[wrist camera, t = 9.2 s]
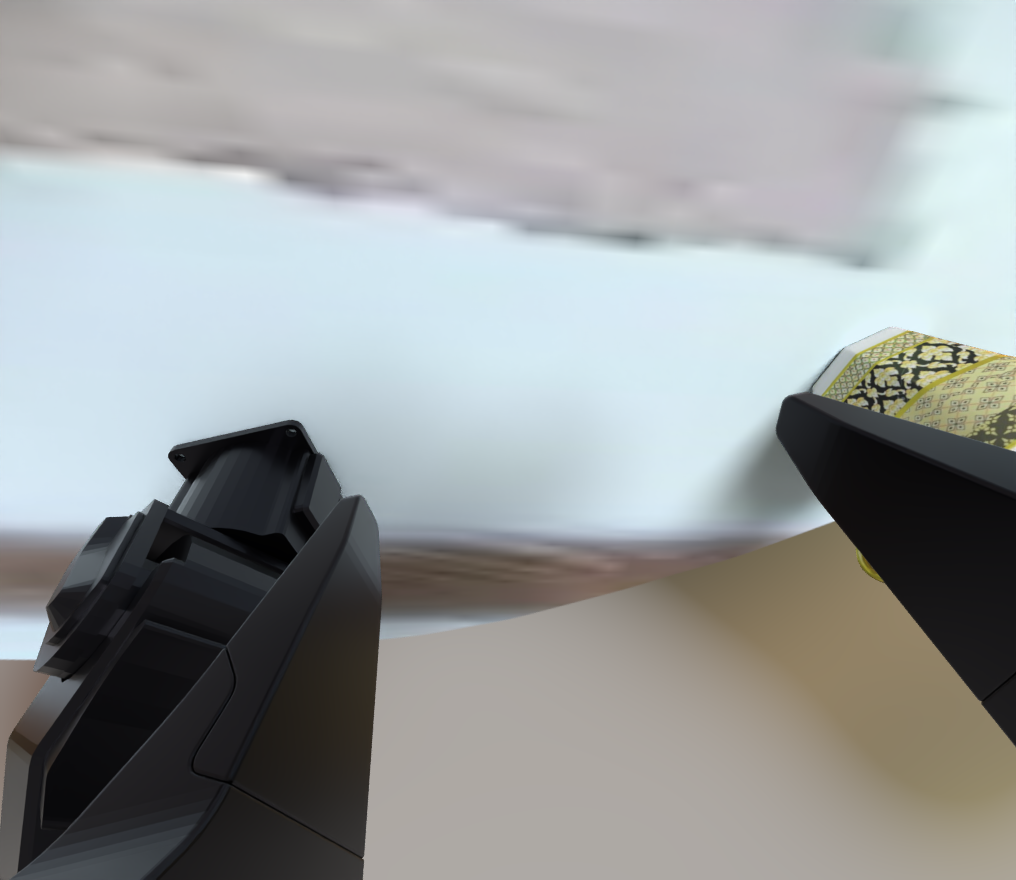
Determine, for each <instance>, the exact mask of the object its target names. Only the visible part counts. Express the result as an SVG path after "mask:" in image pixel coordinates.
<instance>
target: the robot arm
mask: <svg viewBox="0 0 1016 880" xmlns="http://www.w3.org/2000/svg"><path fill="white" fill-rule="evenodd" d="M288 429H294V430H295V431H296V432H290V431H289V430H288ZM776 434H777V437H778V439H779V441H780V442H781V444H782V445H783V447H784V448H785V450H786V452H787V453H788V455H789V456H790V458H791V459H792V461H793V463H794V464H795V466H796V467H797V469H798V470H799V472H800V474H801V475H802V477H803V478H804V480H805V481H806V483H807V485H808V486H809V488H810V489H811V490H812V492H813V493H814V495H815V496H816V497H817V499H818V500H819V501H820V503H821V504H822V505H823V507H824V508H825V509H826V510H827V512H828V513H829V514H830V515H831V517H832V518H833V519H834V520H835V522H836V523H837V524H838V525H839V527H840V528H841V529H842V530H843V532H844V533H845V534H846V535H847V536H848V538H849V539H850V540H851V542H852V543H853V544H854V545H855V546H856V548H857V549H858V550H859V551H860V553H861V554H862V555H863V556H864V558H865V559H866V560H867V561H868V563H869V564H870V565H871V566H872V568H873V569H874V570H875V571H876V573H877V574H878V575H879V576H880V578H881V579H882V580H883V581H884V583H885V584H886V585H887V586H888V588H889V589H890V590H891V591H892V593H893V594H894V595H895V596H896V598H897V599H898V600H899V601H900V603H901V604H902V605H903V606H904V607H905V609H906V610H907V611H908V613H909V614H910V615H911V616H912V618H913V619H914V620H915V621H916V623H917V624H918V625H919V626H920V627H921V629H922V630H923V631H924V633H925V634H926V635H927V636H928V638H929V639H930V640H931V641H932V643H933V644H934V645H935V646H936V647H937V649H938V650H939V651H940V652H941V654H942V655H943V656H944V657H945V659H946V660H947V661H948V662H949V664H950V665H951V666H952V667H953V669H954V670H955V671H956V672H957V674H958V675H959V676H960V677H961V679H962V680H963V681H964V682H965V684H966V685H967V686H968V687H969V689H970V690H971V691H972V692H973V694H974V695H975V696H976V697H977V699H978V700H979V701H982V702H981V704H982V705H983V706H984V708H985V709H986V710H987V711H988V713H989V714H990V715H991V716H992V718H993V719H994V720H995V721H996V723H997V724H998V725H999V727H1000V728H1001V729H1002V730H1003V731H1004V733H1005V734H1006V735H1007V736H1008V738H1009V739H1010V740H1011V741H1012V743H1013V744H1014V745H1015V747H1016V451H1012V450H1009V449H1005V448H1002V447H998V446H995V445H991V444H988V443H984V442H981V441H977V440H974V439H970V438H967V437H963V436H960V435H956V434H953V433H949V432H946V431H942V430H939V429H935V428H932V427H928V426H925V425H921V424H918V423H914V422H911V421H907V420H904V419H900V418H897V417H893V416H890V415H886V414H883V413H879V412H876V411H872V410H869V409H865V408H862V407H858V406H855V405H851V404H848V403H844V402H841V401H837V400H834V399H830V398H827V397H823V396H820V395H816V394H813V393H809V392H802V393H798V394H793V395H789V396H787V397H786V398H785V399H784V400H783V402H782V405H781V409H780V413H779V417H778V421H777V424H776ZM179 454H182V455H184V456H185V457H182V456H180V455H179ZM168 458H169V460H170V461H171V462H172V463H173V465H174V466H175V467H176V468H177V469H178V471H179V472H180V473H181V474H182V475H183V477H184V478H185V479H186V480H185V482H184V484H183V485H182V487H181V489H180V490H179V492H178V493H177V495H176V497H175V498H174V500H173V502H172V503H171V505H170V507H169V506H168V505H166V504H164V503H162V502H160V501H158V500H155V499H154V500H153V501H152V502H151V503H150V504H149V505H148V506H147V507H146V508H145V509H144V510H143V511H142V512H139V511H138V512H137V513H136V514H135V515H130V516H128V517H107V518H106V519H105V520H104V521H103V522H102V523H101V524H100V525H99V526H98V527H97V528H96V530H95V531H94V532H93V534H92V535H91V536H90V538H89V539H88V540H87V542H86V543H85V544H84V546H83V547H82V548H81V550H80V551H79V552H78V554H77V555H76V557H75V558H74V559H73V561H72V562H71V564H70V565H69V567H68V568H67V570H66V572H65V573H64V575H63V577H62V579H61V581H60V583H59V584H58V586H57V588H56V590H55V592H54V593H53V595H52V597H51V599H50V601H49V603H48V604H47V606H46V611H47V614H48V618H49V621H50V622H49V625H48V628H47V631H46V634H45V637H44V640H43V642H42V645H41V648H40V651H39V654H38V657H37V660H36V662H35V665H34V670H33V671H34V672H39V673H43V674H47V675H50V677H49V679H48V680H47V681H46V683H45V684H44V686H43V687H42V689H41V690H40V692H39V693H38V695H37V696H36V697H35V699H34V700H33V702H32V703H31V705H30V706H29V708H28V709H27V710H26V712H25V713H24V715H23V716H22V718H21V719H20V721H19V722H18V724H17V725H16V727H15V728H14V730H13V731H12V733H11V735H10V737H9V740H8V744H7V754H6V765H5V777H4V790H3V800H2V813H1V824H0V880H363V868H364V860H363V859H362V858H363V857H364V850H365V835H366V821H367V806H368V792H369V776H370V764H371V763H370V762H371V748H372V735H373V720H374V706H375V692H376V677H377V663H378V649H379V648H378V647H379V634H380V620H381V603H382V589H381V569H380V550H379V531H378V525H377V522H376V519H375V517H374V516H373V514H372V512H371V510H370V508H369V506H368V504H367V502H366V500H365V498H364V497H363V496H362V495H354V496H350V497H345V498H342V496H341V494H340V491H341V487H340V485H339V483H338V481H337V479H336V478H335V476H334V474H333V472H332V470H331V468H330V467H329V465H328V463H327V461H326V459H325V457H324V456H323V455H322V454H320V453H318V452H317V451H316V449H315V447H314V445H313V443H312V442H311V440H310V438H309V436H308V434H307V432H306V431H305V429H304V427H303V426H302V424H301V423H299V422H298V421H295V420H287V421H283V422H279V423H274V424H270V425H265V426H261V427H256V428H252V429H247V430H243V431H238V432H234V433H229V434H225V435H220V436H216V437H211V438H207V439H202V440H198V441H193V442H189V443H184V444H180V445H176V446H174V447H173V448H172V450H171V451H170V452H169V454H168Z"/></svg>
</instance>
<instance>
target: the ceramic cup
mask: <svg viewBox="0 0 1016 880" xmlns="http://www.w3.org/2000/svg"><path fill="white" fill-rule="evenodd" d="M812 393H813V394H816V395H820V396H823V397H827V398H830V399H834V400H837V401H841V402H844V403H848V404H851V405H855V406H858V407H862V408H865V409H869V410H872V411H876V412H879V413H883V414H886V415H890V416H893V417H897V418H900V419H904V420H907V421H911V422H914V423H918V424H921V425H925V426H928V427H932V428H935V429H939V430H942V431H946V432H949V433H953V434H956V435H960V436H963V437H967V438H970V439H974V440H977V441H981V442H984V443H988V444H991V445H995V446H998V447H1002V448H1005V449H1009V450H1012V451H1016V357H1013V356H1007V355H1003V354H999V353H995V352H991V351H987V350H983V349H979V348H975V347H971V346H967V345H963V344H959V343H955V342H951V341H947V340H943V339H939V338H935V337H932V336H928V335H925V334H921V333H917V332H914V331H908V330H905V329H901V328H897V327H889V328H886V329H884V330H882V331H880V332H878V333H875V334H873V335H871V336H869V337H867V338H864V339H862V340H860V341H858V342H856V343H854V344H851V345H849V346H847V347H845V348H844V349H843V350H842V351H841V352H840V353H839V355H838V356H837V357H836V358H835V360H834V361H833V362H832V363H831V365H830V366H829V367H828V368H827V369H826V371H825V372H824V373H823V374H822V376H821V377H820V378H819V379H818V381H817V382H816V383H815V384H814V386H813V387H812ZM856 554H857V559H858V562H859V564H860V566H861V567H862V569H863V570H864V571H865V572H866V573H867V574H868V575H869V576H871V577H872V578H874V579H876V580H878V581H880V582H883V583H884V581H883V580H882V579H881V578H880V576H879V575H878V574H877V573H876V571H875V570H874V569H873V568H872V566H871V565H870V564H869V563H868V561H867V560H866V559H865V558H864V556H863V555H862V554H861V553H860V551H859V550H858V549H857V548H856Z"/></svg>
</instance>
